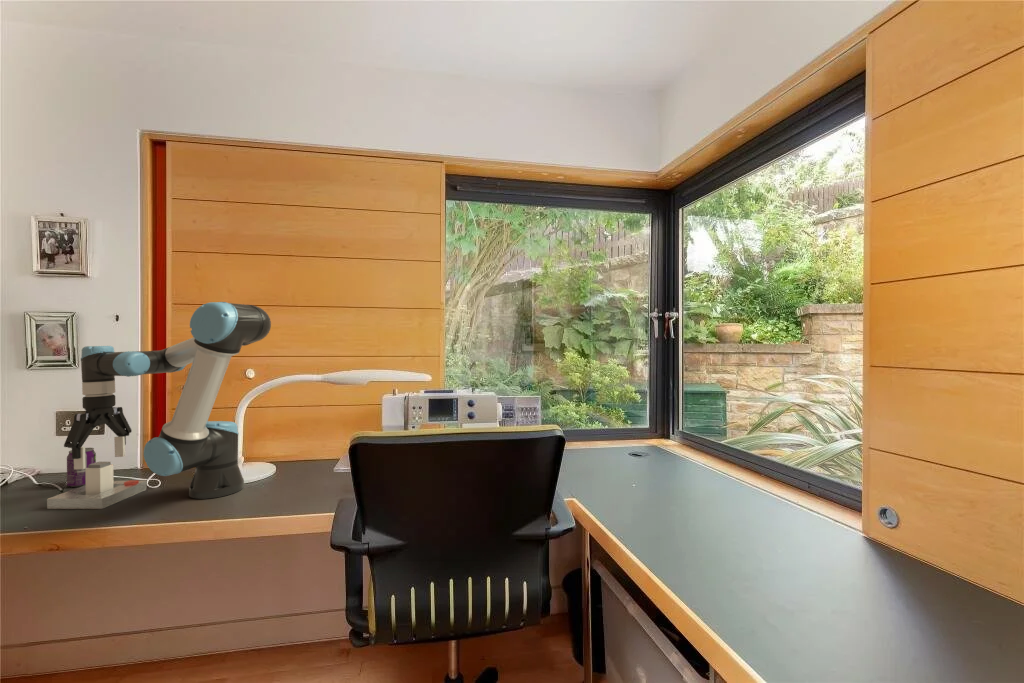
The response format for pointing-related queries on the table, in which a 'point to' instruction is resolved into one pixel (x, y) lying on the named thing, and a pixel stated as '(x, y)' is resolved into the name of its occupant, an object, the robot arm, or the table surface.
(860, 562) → the table surface
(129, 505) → the table surface
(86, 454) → the beverage can
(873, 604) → the table surface
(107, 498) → the socket block
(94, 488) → the plug
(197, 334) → the robot arm
